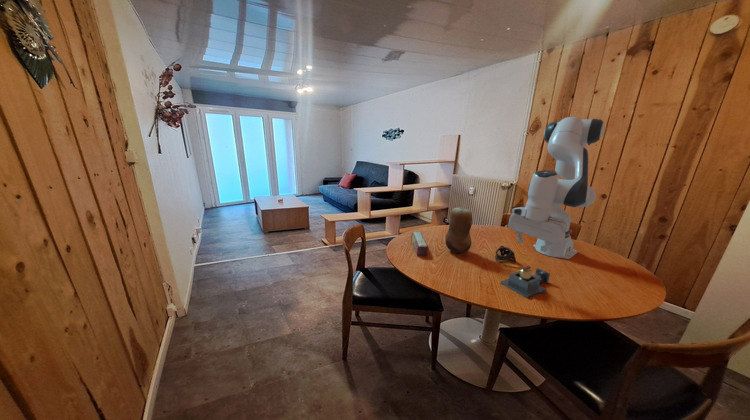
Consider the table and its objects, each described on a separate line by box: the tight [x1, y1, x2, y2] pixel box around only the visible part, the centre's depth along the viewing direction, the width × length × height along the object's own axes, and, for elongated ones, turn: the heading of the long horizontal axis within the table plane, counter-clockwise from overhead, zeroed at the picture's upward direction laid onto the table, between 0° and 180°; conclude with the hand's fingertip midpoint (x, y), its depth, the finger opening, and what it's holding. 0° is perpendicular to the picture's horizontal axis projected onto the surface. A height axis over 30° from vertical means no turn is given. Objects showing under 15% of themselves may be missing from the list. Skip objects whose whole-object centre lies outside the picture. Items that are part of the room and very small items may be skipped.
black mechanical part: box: [494, 245, 517, 263], centre depth 127 cm, size 12×10×8 cm
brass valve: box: [519, 265, 532, 281], centre depth 102 cm, size 5×4×8 cm
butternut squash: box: [445, 207, 473, 255], centre depth 133 cm, size 14×13×25 cm
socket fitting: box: [500, 268, 551, 299], centre depth 104 cm, size 19×12×5 cm, turn 116°
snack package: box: [410, 231, 429, 257], centre depth 139 cm, size 21×7×7 cm, turn 179°
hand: (531, 246), depth 98 cm, fingers open, 8 cm apart
